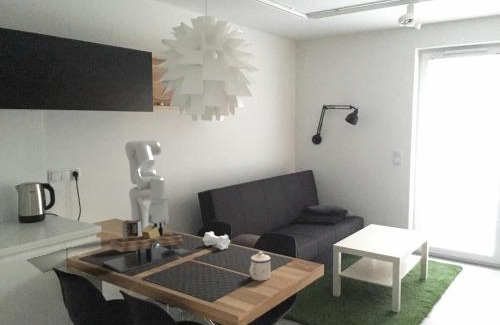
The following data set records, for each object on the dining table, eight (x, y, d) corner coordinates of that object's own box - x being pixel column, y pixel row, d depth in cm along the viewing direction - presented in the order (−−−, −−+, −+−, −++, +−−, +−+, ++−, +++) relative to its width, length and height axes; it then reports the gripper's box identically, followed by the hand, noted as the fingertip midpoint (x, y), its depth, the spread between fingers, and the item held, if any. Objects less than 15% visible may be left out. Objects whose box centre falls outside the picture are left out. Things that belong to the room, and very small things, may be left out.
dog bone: (230, 249, 226) (231, 234, 226) (219, 251, 220) (220, 236, 220) (212, 244, 236) (213, 230, 236) (201, 246, 230) (202, 232, 230)
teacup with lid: (259, 272, 189) (258, 247, 188) (275, 276, 183) (274, 251, 182) (242, 280, 179) (242, 254, 178) (258, 284, 174) (258, 258, 173)
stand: (103, 263, 204) (102, 244, 203) (171, 246, 232) (170, 228, 231) (121, 272, 190) (120, 252, 189) (190, 253, 218) (190, 235, 217)
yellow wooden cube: (144, 240, 211) (140, 230, 209) (152, 234, 215) (149, 224, 213) (151, 242, 208) (148, 232, 205) (160, 236, 212) (157, 226, 210)
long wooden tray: (170, 244, 227) (171, 232, 227) (183, 249, 219) (183, 236, 218) (109, 252, 202) (110, 238, 202) (120, 258, 193) (121, 243, 193)
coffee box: (143, 247, 229) (142, 219, 228) (139, 251, 223) (137, 222, 221) (127, 247, 230) (126, 219, 229) (123, 251, 224) (121, 222, 222)
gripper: (166, 198, 220) (167, 231, 222) (141, 202, 210) (143, 237, 211) (174, 199, 215) (175, 233, 216) (149, 203, 205) (151, 239, 206)
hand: (159, 235), depth 214 cm, fingers closed
